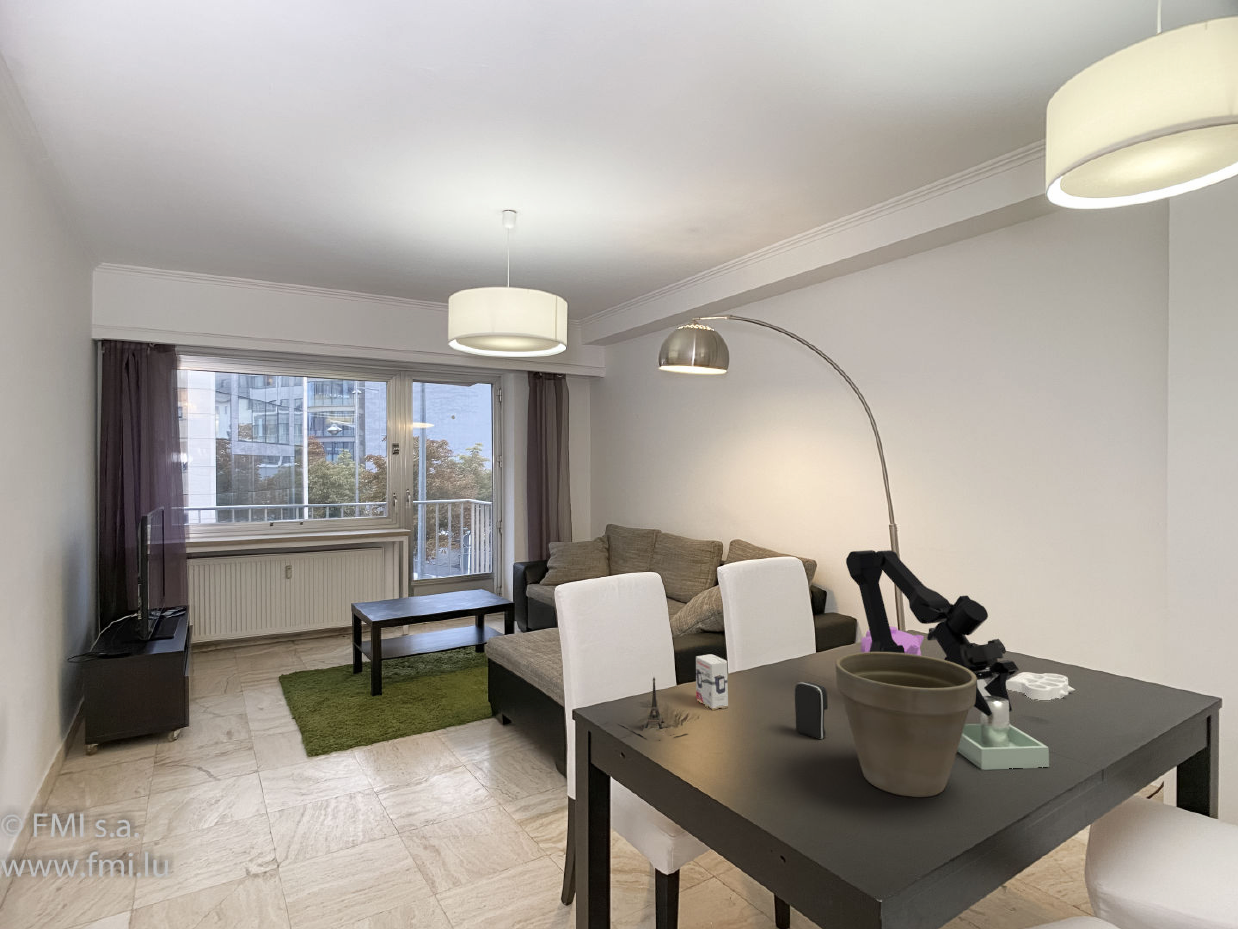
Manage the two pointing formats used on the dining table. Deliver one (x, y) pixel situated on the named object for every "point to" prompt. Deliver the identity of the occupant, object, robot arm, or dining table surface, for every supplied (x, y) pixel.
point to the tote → (1003, 750)
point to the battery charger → (810, 709)
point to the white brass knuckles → (1040, 685)
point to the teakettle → (897, 641)
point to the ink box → (711, 680)
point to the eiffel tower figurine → (655, 717)
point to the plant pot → (905, 717)
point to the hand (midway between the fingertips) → (1000, 713)
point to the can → (996, 723)
